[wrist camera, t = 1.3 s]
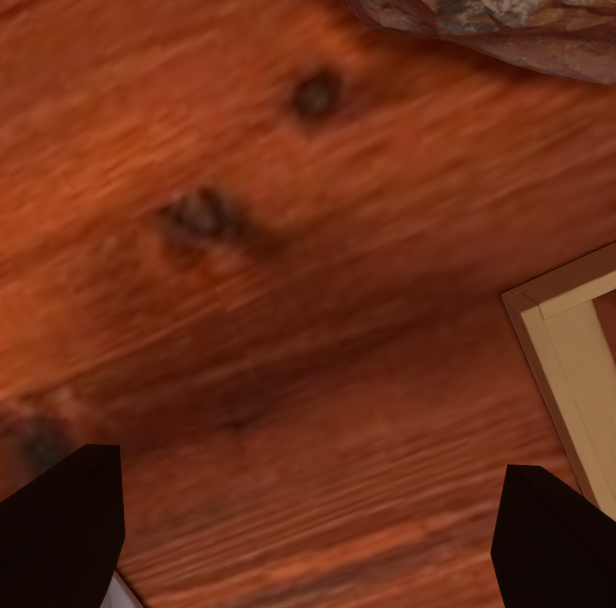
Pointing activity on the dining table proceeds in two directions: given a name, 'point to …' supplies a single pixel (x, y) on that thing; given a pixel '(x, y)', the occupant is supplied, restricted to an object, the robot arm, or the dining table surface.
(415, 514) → the dining table surface
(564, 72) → the stone
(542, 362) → the frame
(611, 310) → the rose pad
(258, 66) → the dining table surface
